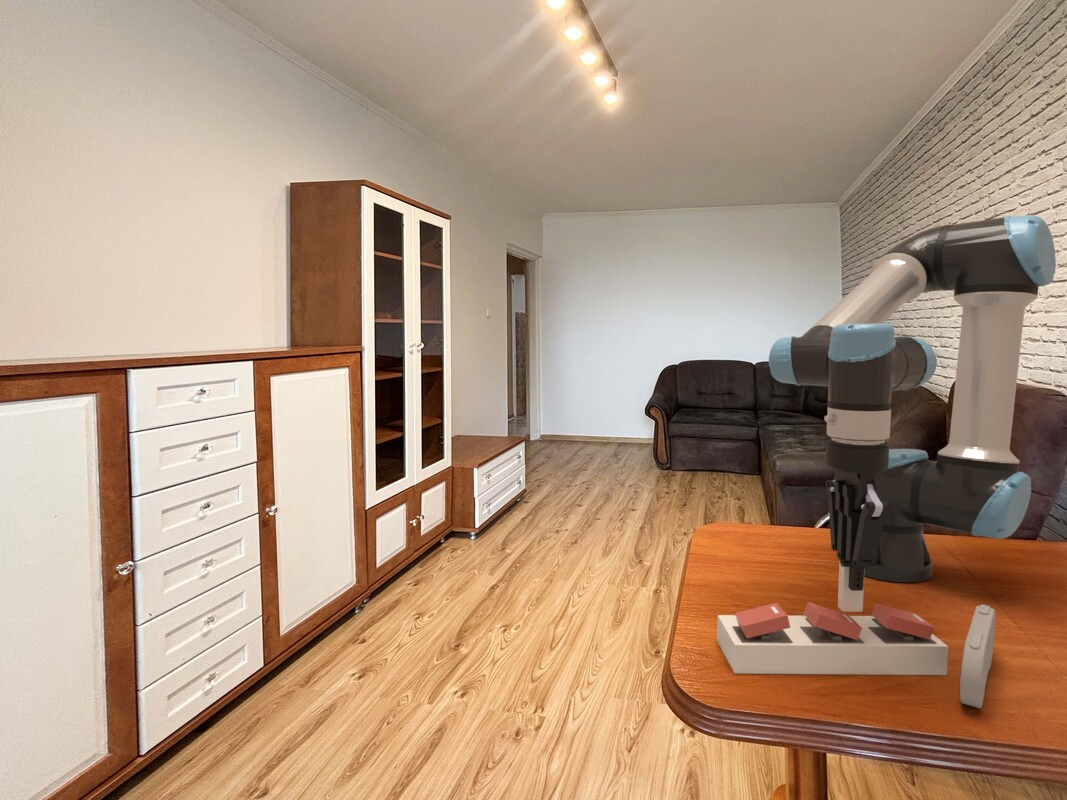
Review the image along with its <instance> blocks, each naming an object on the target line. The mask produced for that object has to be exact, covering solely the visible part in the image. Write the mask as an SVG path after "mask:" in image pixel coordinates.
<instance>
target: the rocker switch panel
mask: <svg viewBox="0 0 1067 800" xmlns="http://www.w3.org/2000/svg"><path fill="white" fill-rule="evenodd" d="M849 616H850V617H851V618H852V619H853V620H854V621H855V622H856V623H857V624H858V625H859V626H861V627H862V630H861V632H860V635H859V637H858V640H855V639H852V638H849V637H846V636H843V635H840V634H837V633H833V632H830V631H827V630H824V629H821V628H818V627H815V626H814V625H813V624H812V623H811V622H810V621H809V619H808V618H807V617H806V616H805V615H788V619H789V624H790V628H787V629H783V630H779V631H775V632H771V633H767V634H763V635H759V636H755V637H750V638H746V636H745V635H744V633H743V632H742V630H741V629H740V627H739V625H738V622H737V619H736V615H735V614H734V615H733V614H732V615H731V614H725V615H724V614H723V615H721V614H719V615H717V622H716V623H717V624H716V625H717V629H716V631H717V632H716V641H717V643H718V646H719V647H720V649H721V651H722V654H723V655H724V657H725V658H726V661H727V662H728V664H729V666H730V668H731V669H732V672H733V673H734V674H743V675H744V674H746V675H748V674H749V675H751V674H752V675H754V674H758V675H759V674H760V675H761V674H763V675H768V674H769V675H775V674H776V675H872V676H873V675H875V676H876V675H877V676H880V675H881V676H883V675H885V676H886V675H888V676H889V675H890V676H900V675H901V676H947V675H948V673H947V672H948V658H949V646H948V645H947V644H946V643H944V641H942V640H941V639H939V638H938V637H937V636H936V635H935V634H933V633H932V635H931V638H930V639H926V638H922V637H918V636H915V635H911V634H907V633H903V632H899V631H895V630H892V629H888V628H886V627H885V626H884V625H882V624H881V623H880V622H879V621H878V620H877V619H876V618H874V617H873V616H872V615H849Z"/></svg>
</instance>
